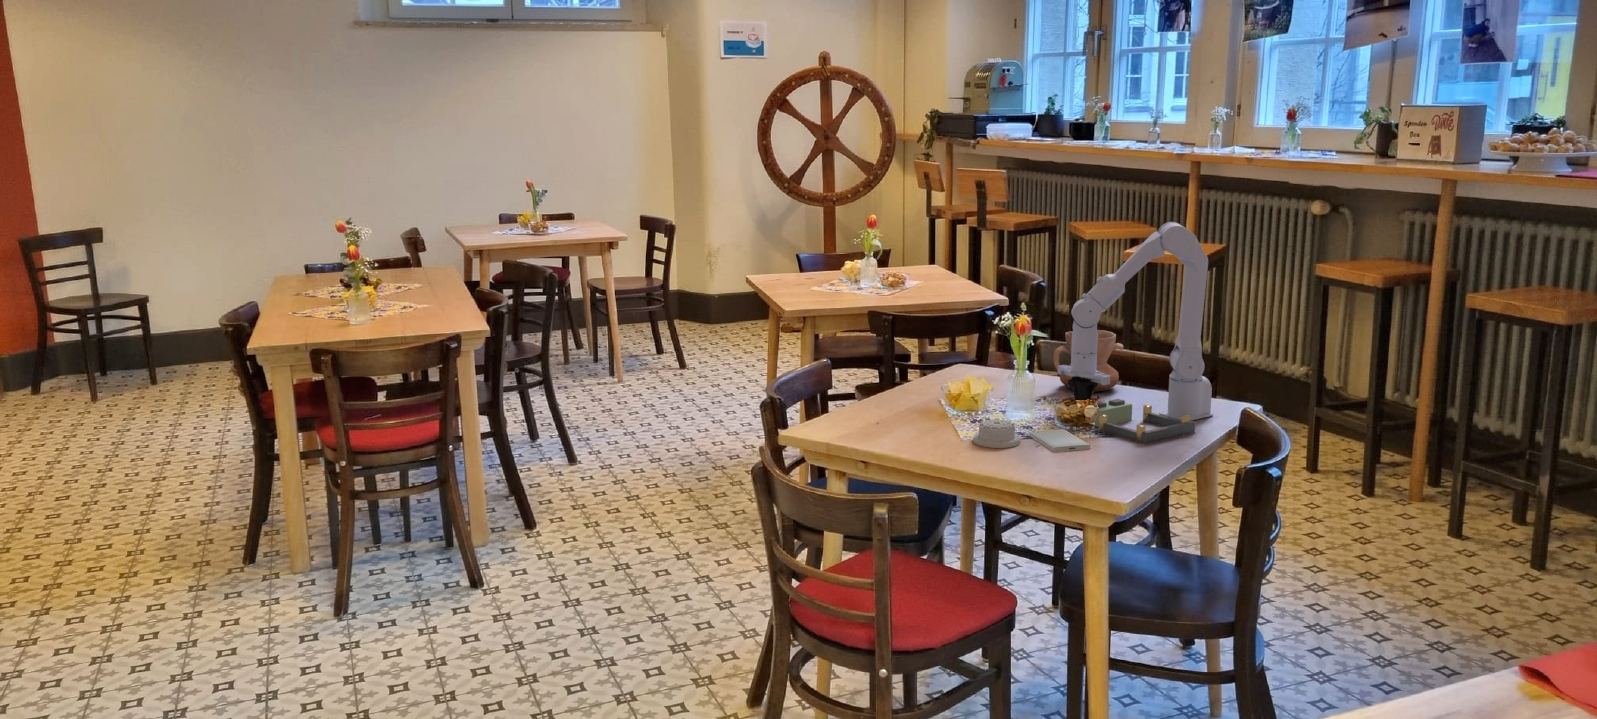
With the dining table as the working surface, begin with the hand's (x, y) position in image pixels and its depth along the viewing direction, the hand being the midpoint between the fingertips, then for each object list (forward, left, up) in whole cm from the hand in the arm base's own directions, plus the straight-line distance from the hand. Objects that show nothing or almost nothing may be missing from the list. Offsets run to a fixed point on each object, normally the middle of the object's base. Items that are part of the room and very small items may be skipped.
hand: (1082, 409), depth 268 cm
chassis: (0, +18, -1) cm, 18 cm away
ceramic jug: (-19, -17, -1) cm, 26 cm away
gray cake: (+31, +6, -2) cm, 32 cm away
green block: (0, +8, -1) cm, 8 cm away
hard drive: (+21, +14, -2) cm, 25 cm away
